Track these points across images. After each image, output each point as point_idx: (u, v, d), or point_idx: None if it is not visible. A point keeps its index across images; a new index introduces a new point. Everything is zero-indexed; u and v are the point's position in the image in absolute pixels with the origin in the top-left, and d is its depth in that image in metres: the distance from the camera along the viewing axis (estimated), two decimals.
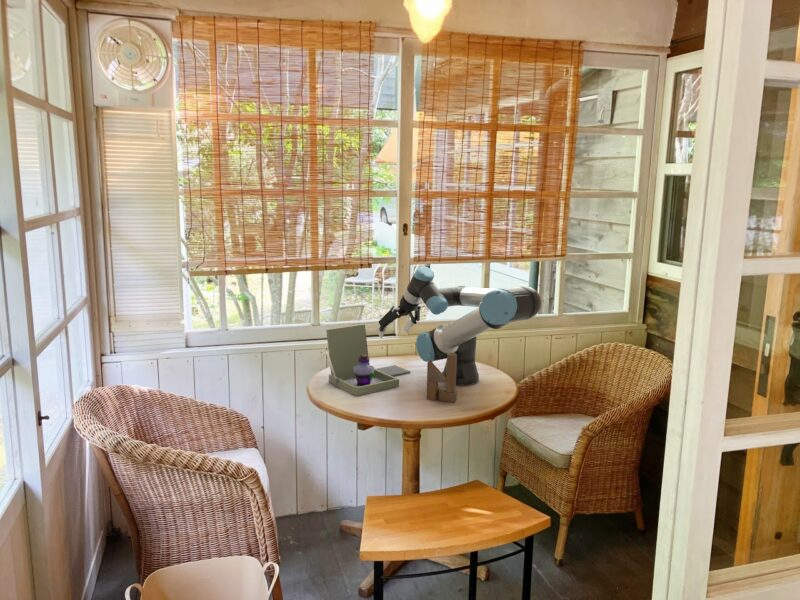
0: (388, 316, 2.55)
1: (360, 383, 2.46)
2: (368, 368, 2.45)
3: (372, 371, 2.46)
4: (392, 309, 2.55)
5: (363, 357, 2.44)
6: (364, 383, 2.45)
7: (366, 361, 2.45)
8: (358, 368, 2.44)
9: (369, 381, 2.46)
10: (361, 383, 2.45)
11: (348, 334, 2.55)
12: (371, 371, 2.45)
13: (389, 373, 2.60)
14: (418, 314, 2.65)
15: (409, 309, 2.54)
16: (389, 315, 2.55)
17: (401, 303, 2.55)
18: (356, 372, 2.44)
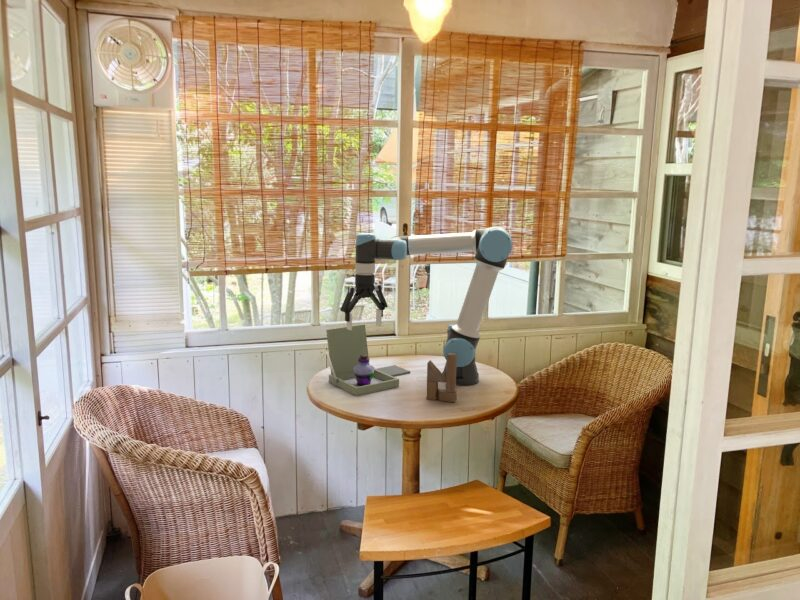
0: (347, 298, 2.37)
1: (360, 383, 2.46)
2: (368, 368, 2.45)
3: (372, 371, 2.46)
4: (349, 289, 2.38)
5: (363, 357, 2.44)
6: (364, 383, 2.45)
7: (366, 361, 2.45)
8: (358, 368, 2.44)
9: (369, 381, 2.46)
10: (361, 383, 2.45)
11: (348, 334, 2.55)
12: (371, 371, 2.45)
13: (389, 373, 2.60)
14: (382, 296, 2.46)
15: (365, 282, 2.37)
16: (348, 297, 2.37)
17: (356, 281, 2.39)
18: (356, 372, 2.44)
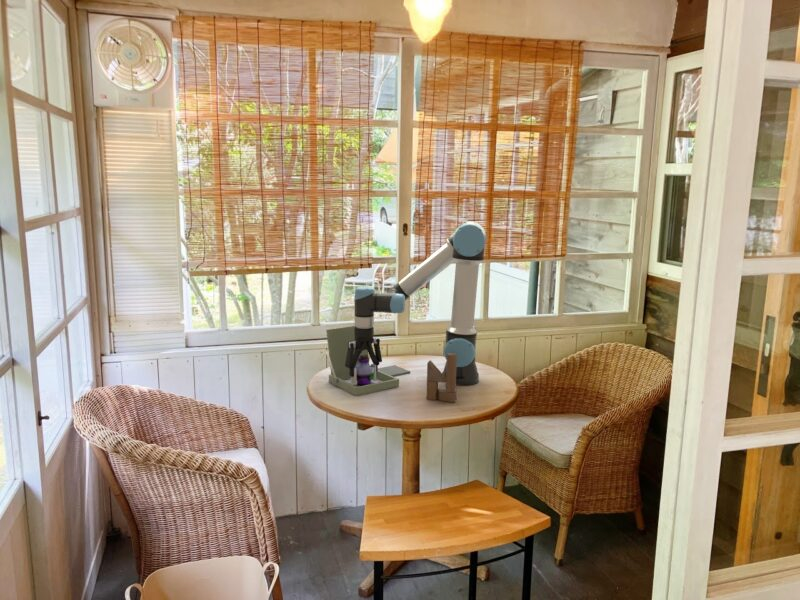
0: (349, 354, 2.41)
1: (360, 383, 2.46)
2: (368, 367, 2.45)
3: (372, 371, 2.46)
4: (348, 345, 2.41)
5: (363, 357, 2.44)
6: (364, 383, 2.45)
7: (366, 361, 2.45)
8: (358, 368, 2.44)
9: (369, 381, 2.46)
10: (361, 383, 2.45)
11: (348, 334, 2.55)
12: (371, 371, 2.45)
13: (389, 373, 2.60)
14: (379, 350, 2.49)
15: (365, 335, 2.41)
16: (349, 352, 2.41)
17: (355, 334, 2.42)
18: (356, 372, 2.44)
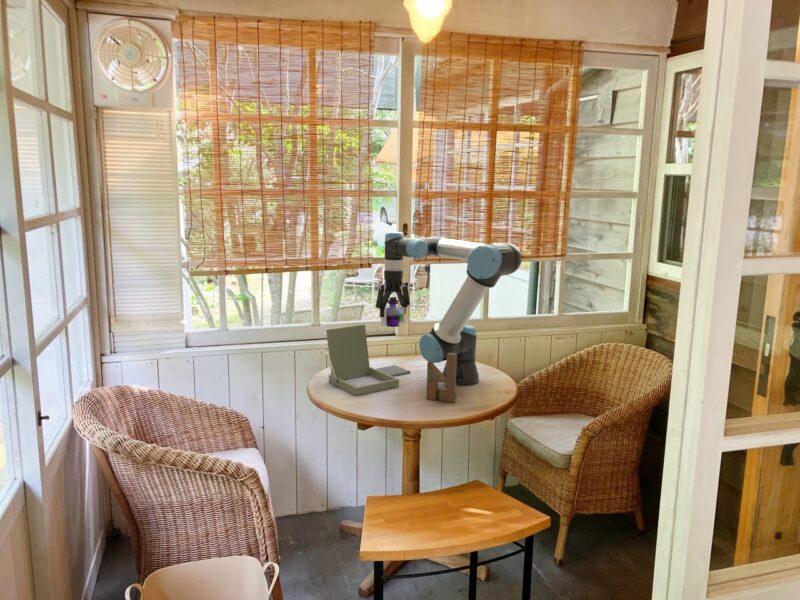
0: (380, 295, 2.54)
1: (389, 324, 2.59)
2: (397, 309, 2.58)
3: (401, 312, 2.59)
4: (379, 287, 2.54)
5: (392, 299, 2.58)
6: (393, 324, 2.58)
7: (395, 303, 2.58)
8: (388, 309, 2.57)
9: (398, 322, 2.60)
10: (390, 324, 2.58)
11: (348, 334, 2.55)
12: (400, 312, 2.58)
13: (389, 373, 2.60)
14: (407, 293, 2.62)
15: (394, 277, 2.54)
16: (379, 294, 2.54)
17: (385, 276, 2.55)
18: (386, 313, 2.57)
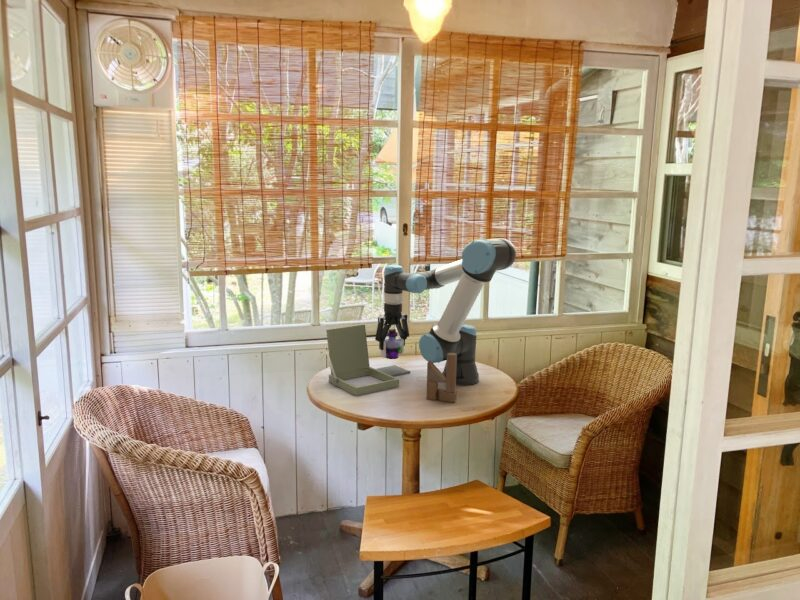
0: (379, 328, 2.57)
1: (389, 356, 2.61)
2: (397, 341, 2.61)
3: (400, 345, 2.61)
4: (379, 320, 2.57)
5: (392, 331, 2.60)
6: (392, 356, 2.61)
7: (395, 335, 2.60)
8: (387, 342, 2.60)
9: (397, 354, 2.62)
10: (390, 356, 2.61)
11: (348, 334, 2.55)
12: (399, 345, 2.61)
13: (389, 373, 2.60)
14: (406, 325, 2.64)
15: (394, 311, 2.56)
16: (379, 327, 2.57)
17: (385, 309, 2.58)
18: None
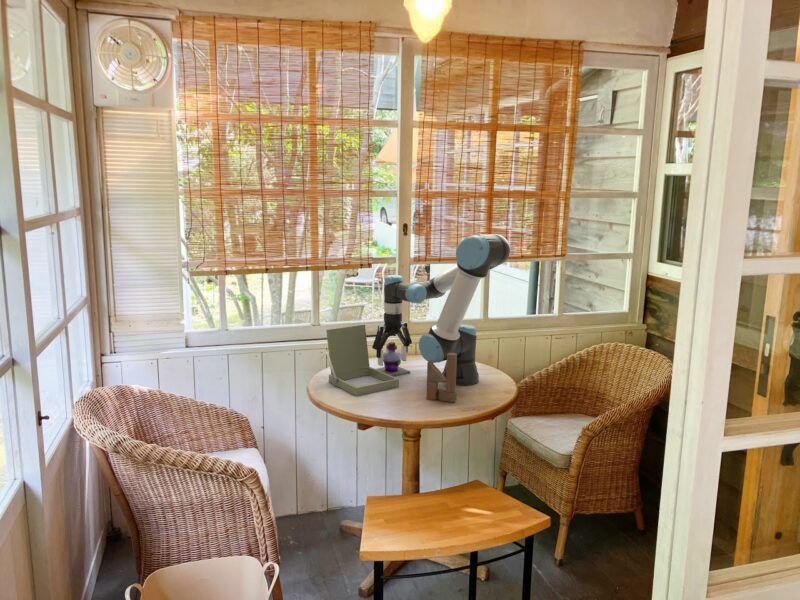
0: (378, 336, 2.57)
1: (388, 369, 2.62)
2: (396, 354, 2.61)
3: (399, 358, 2.62)
4: (378, 328, 2.57)
5: (391, 345, 2.61)
6: (392, 369, 2.62)
7: (394, 348, 2.61)
8: (386, 355, 2.61)
9: (396, 367, 2.63)
10: (389, 369, 2.62)
11: (348, 334, 2.55)
12: (399, 358, 2.61)
13: (389, 373, 2.60)
14: (407, 333, 2.65)
15: (394, 320, 2.57)
16: (378, 335, 2.57)
17: (385, 319, 2.59)
18: (385, 359, 2.61)
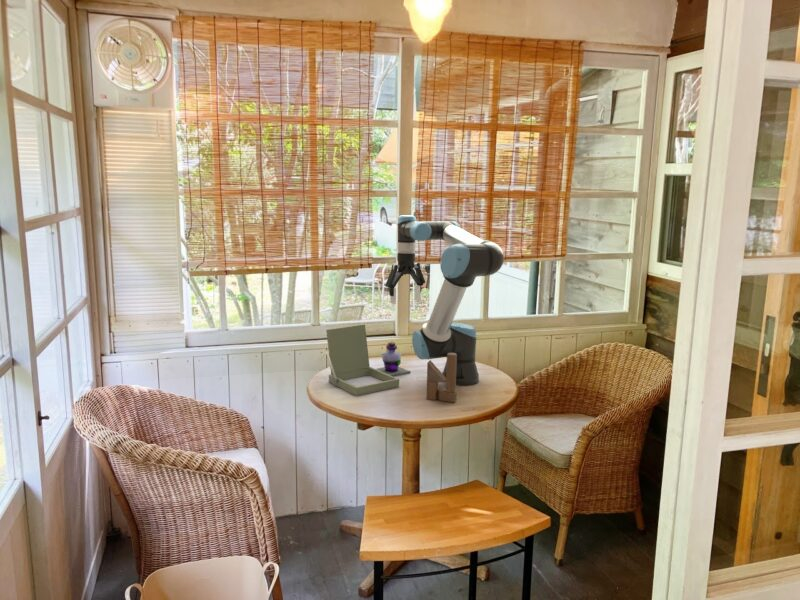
0: (392, 274, 2.60)
1: (388, 369, 2.62)
2: (396, 354, 2.61)
3: (399, 358, 2.62)
4: (393, 266, 2.61)
5: (391, 345, 2.61)
6: (392, 369, 2.62)
7: (394, 348, 2.61)
8: (386, 355, 2.61)
9: (396, 367, 2.63)
10: (389, 369, 2.62)
11: (348, 334, 2.55)
12: (399, 358, 2.61)
13: (389, 373, 2.60)
14: (420, 273, 2.69)
15: (408, 259, 2.61)
16: (392, 273, 2.60)
17: (398, 259, 2.62)
18: (385, 359, 2.61)
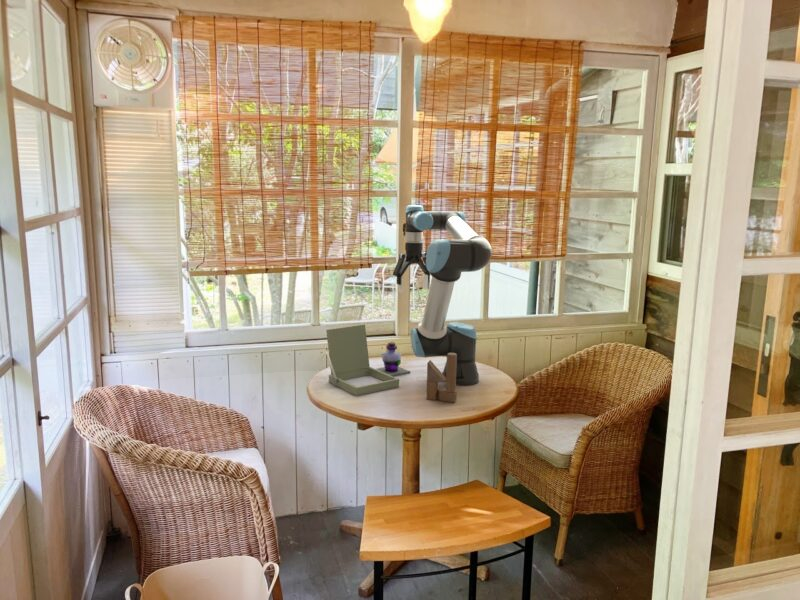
0: (399, 263, 2.65)
1: (388, 369, 2.62)
2: (396, 354, 2.61)
3: (399, 358, 2.62)
4: (400, 256, 2.66)
5: (391, 345, 2.61)
6: (392, 369, 2.62)
7: (394, 348, 2.61)
8: (386, 355, 2.61)
9: (396, 367, 2.63)
10: (389, 369, 2.62)
11: (348, 334, 2.55)
12: (399, 358, 2.61)
13: (389, 373, 2.60)
14: None
15: (415, 249, 2.65)
16: (399, 262, 2.65)
17: (406, 248, 2.67)
18: (385, 359, 2.61)
